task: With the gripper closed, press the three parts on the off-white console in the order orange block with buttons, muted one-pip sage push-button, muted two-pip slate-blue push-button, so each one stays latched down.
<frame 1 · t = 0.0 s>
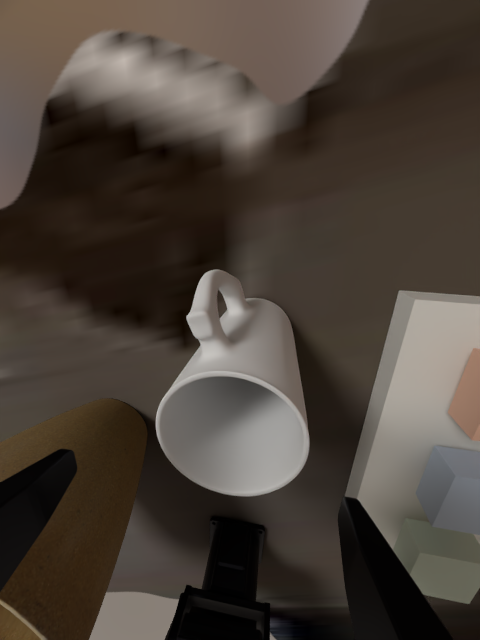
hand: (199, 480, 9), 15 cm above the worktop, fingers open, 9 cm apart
console: (432, 437, 23), on the worktop
mug: (250, 314, 22), on the worktop
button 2: (473, 491, 19), point 5 cm above the worktop, slide at 0.0 cm
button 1: (438, 560, 21), point 5 cm above the worktop, slide at 0.0 cm
plant pot: (116, 422, 29), on the worktop
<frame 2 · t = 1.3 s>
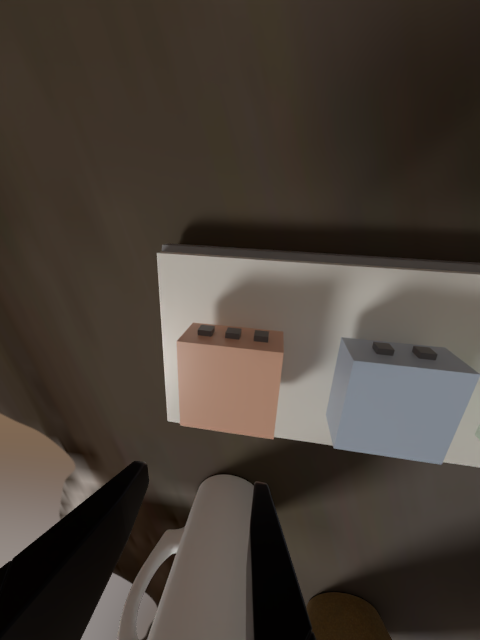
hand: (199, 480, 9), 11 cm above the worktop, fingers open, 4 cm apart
console: (360, 351, 18), on the worktop
mug: (214, 496, 25), on the worktop
orange block with buttons 3: (231, 376, 14), point 5 cm above the worktop, slide at 0.0 cm
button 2: (390, 395, 13), point 5 cm above the worktop, slide at 0.0 cm
plant pot: (338, 608, 28), on the worktop
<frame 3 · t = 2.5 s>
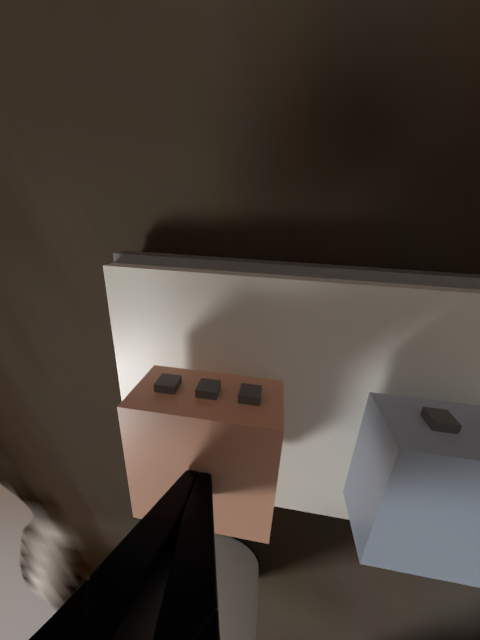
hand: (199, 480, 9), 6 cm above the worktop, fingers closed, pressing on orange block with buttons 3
console: (386, 394, 13), on the worktop
mug: (200, 555, 21), on the worktop
orange block with buttons 3: (208, 446, 10), point 5 cm above the worktop, slide at 0.1 cm, touching gripper
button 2: (445, 484, 9), point 5 cm above the worktop, slide at 0.0 cm
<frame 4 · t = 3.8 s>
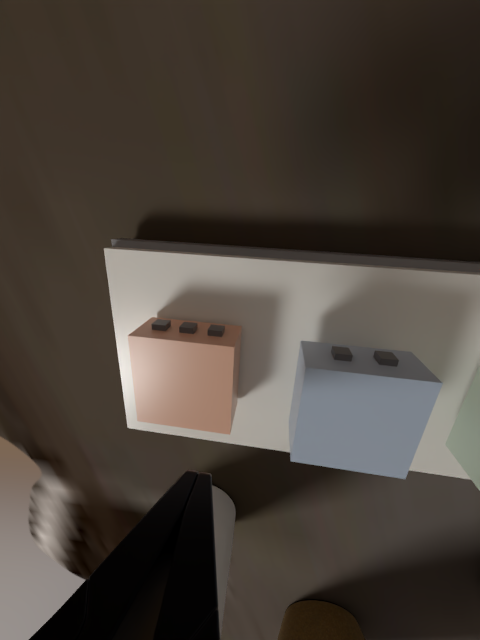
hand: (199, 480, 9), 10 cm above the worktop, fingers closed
console: (330, 354, 17), on the worktop
mug: (186, 503, 24), on the worktop
orange block with buttons 3: (189, 371, 14), point 4 cm above the worktop, slide at 1.0 cm
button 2: (351, 404, 12), point 5 cm above the worktop, slide at 0.0 cm
plant pot: (317, 616, 28), on the worktop
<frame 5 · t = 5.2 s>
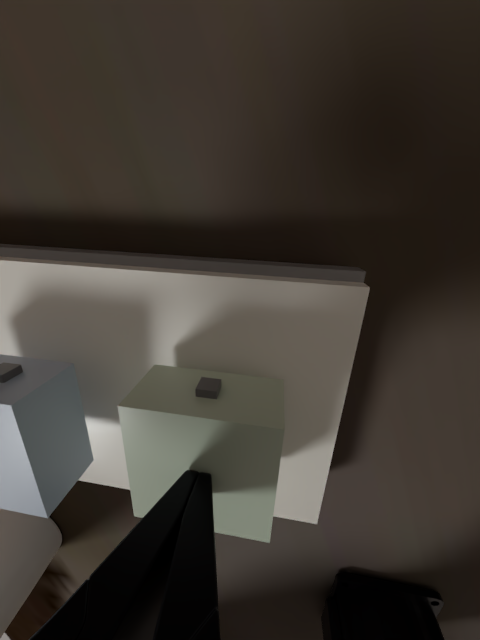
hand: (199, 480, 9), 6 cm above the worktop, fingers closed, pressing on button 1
console: (90, 363, 15), on the worktop
mug: (16, 524, 22), on the worktop
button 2: (1, 425, 10), point 5 cm above the worktop, slide at 0.0 cm
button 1: (208, 445, 10), point 4 cm above the worktop, slide at 0.6 cm, touching gripper
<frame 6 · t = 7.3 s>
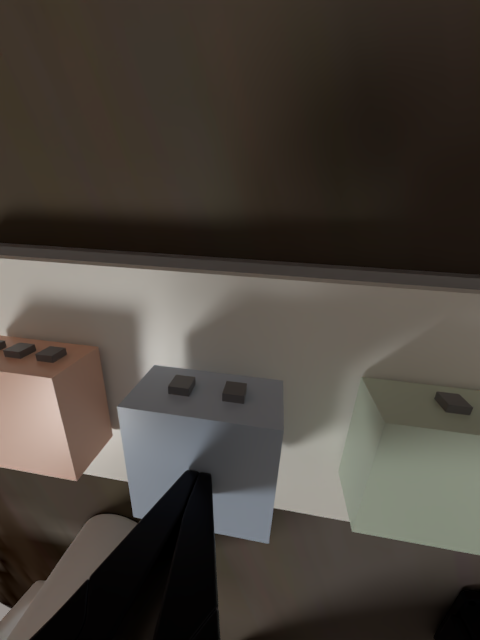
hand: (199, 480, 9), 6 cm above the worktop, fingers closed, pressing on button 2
console: (231, 376, 14), on the worktop
mug: (106, 536, 22), on the worktop
orange block with buttons 3: (34, 401, 11), point 4 cm above the worktop, slide at 1.0 cm
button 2: (208, 445, 10), point 5 cm above the worktop, slide at 0.2 cm, touching gripper
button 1: (429, 459, 9), point 4 cm above the worktop, slide at 1.1 cm
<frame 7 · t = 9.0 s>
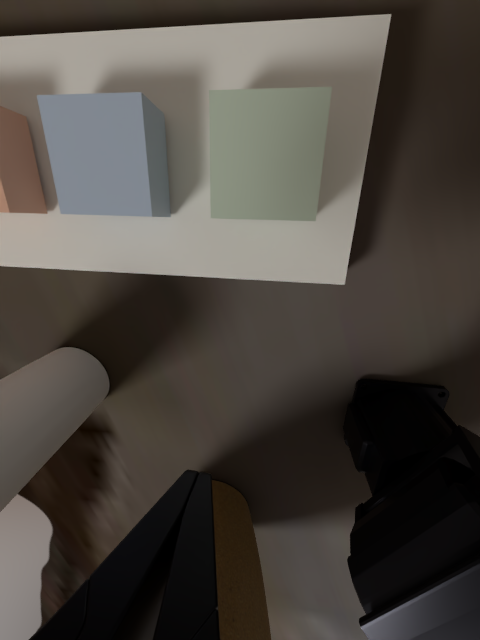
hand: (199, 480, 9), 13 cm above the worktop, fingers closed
console: (147, 176, 17), on the worktop
mug: (66, 378, 25), on the worktop
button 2: (112, 160, 14), point 4 cm above the worktop, slide at 1.1 cm
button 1: (266, 161, 13), point 4 cm above the worktop, slide at 1.1 cm
plant pot: (212, 501, 28), on the worktop
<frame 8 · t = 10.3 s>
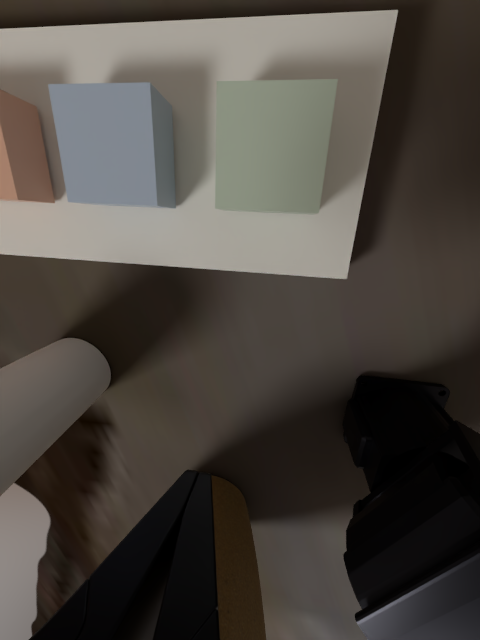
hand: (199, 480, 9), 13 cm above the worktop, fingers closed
console: (154, 168, 18), on the worktop
mug: (68, 369, 25), on the worktop
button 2: (119, 150, 14), point 4 cm above the worktop, slide at 1.1 cm
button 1: (271, 153, 13), point 4 cm above the worktop, slide at 1.1 cm
plant pot: (210, 497, 28), on the worktop
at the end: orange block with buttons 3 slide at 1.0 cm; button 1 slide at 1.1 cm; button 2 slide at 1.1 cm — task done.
